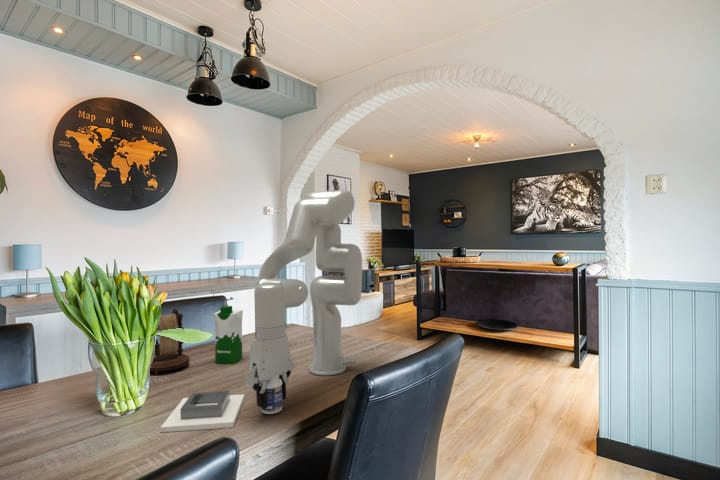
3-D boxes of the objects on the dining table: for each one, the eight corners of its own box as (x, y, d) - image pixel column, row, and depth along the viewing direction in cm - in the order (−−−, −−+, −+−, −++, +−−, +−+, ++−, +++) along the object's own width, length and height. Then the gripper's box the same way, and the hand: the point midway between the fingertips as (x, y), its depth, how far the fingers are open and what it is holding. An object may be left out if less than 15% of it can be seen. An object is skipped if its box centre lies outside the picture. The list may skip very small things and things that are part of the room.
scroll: (150, 379, 119) (150, 316, 119) (135, 368, 129) (134, 310, 129) (196, 367, 130) (196, 309, 130) (179, 358, 140) (178, 304, 140)
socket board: (244, 398, 104) (244, 394, 104) (233, 427, 88) (233, 422, 88) (183, 402, 102) (183, 398, 102) (160, 432, 86) (160, 427, 86)
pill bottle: (277, 415, 93) (276, 376, 92) (257, 413, 94) (256, 375, 93) (286, 405, 98) (285, 368, 98) (266, 404, 99) (266, 367, 99)
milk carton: (211, 364, 133) (211, 307, 133) (223, 356, 142) (223, 303, 142) (235, 364, 132) (235, 308, 132) (245, 356, 141) (245, 303, 141)
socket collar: (229, 400, 100) (229, 390, 100) (221, 416, 91) (221, 406, 91) (192, 402, 99) (192, 393, 99) (180, 419, 90) (180, 408, 90)
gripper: (286, 323, 104) (287, 387, 105) (232, 337, 91) (233, 411, 91) (305, 326, 100) (306, 394, 100) (251, 342, 86) (253, 420, 87)
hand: (271, 401), depth 96 cm, fingers closed on pill bottle, 5 cm apart
